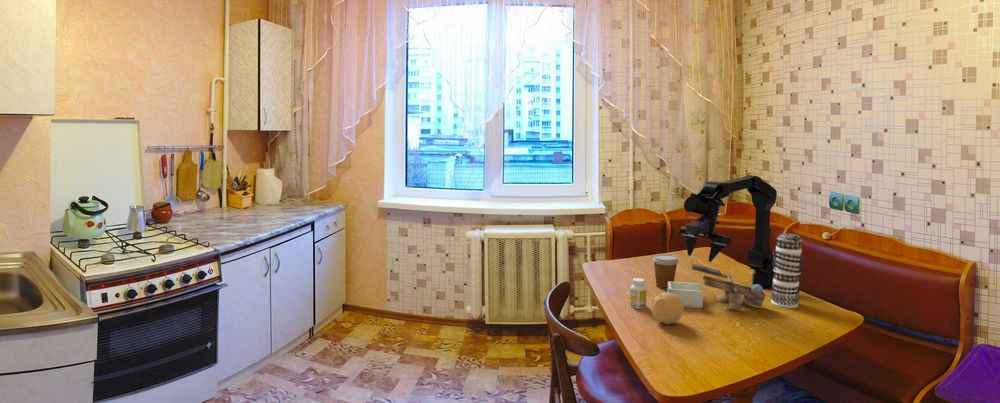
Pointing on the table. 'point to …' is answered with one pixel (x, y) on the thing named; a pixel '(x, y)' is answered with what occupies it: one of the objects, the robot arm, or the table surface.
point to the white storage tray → (687, 293)
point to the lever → (729, 285)
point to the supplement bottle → (638, 294)
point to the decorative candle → (787, 270)
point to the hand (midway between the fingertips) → (699, 258)
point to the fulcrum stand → (732, 301)
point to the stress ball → (667, 308)
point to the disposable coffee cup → (664, 269)
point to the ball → (757, 288)
